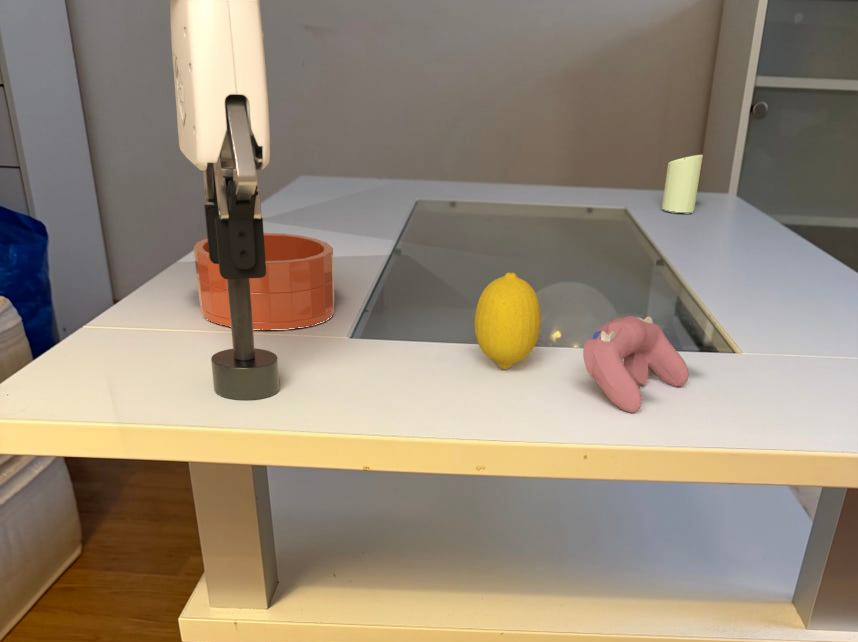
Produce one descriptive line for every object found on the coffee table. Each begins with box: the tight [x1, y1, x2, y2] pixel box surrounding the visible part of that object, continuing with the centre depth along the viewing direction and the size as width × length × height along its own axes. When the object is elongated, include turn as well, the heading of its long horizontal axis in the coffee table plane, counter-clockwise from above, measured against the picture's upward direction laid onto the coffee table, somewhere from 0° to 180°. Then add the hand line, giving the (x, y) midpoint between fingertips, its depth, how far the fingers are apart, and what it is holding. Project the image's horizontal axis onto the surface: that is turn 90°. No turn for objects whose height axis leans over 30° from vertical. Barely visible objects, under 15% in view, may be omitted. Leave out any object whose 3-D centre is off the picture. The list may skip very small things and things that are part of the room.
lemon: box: [474, 272, 542, 370], centre depth 82 cm, size 6×6×8 cm
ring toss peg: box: [210, 278, 280, 401], centre depth 73 cm, size 5×5×14 cm
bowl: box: [193, 232, 335, 330], centre depth 93 cm, size 13×13×6 cm
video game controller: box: [582, 315, 689, 413], centre depth 80 cm, size 10×5×7 cm, turn 144°
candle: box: [661, 154, 704, 213], centre depth 151 cm, size 5×5×8 cm
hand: (237, 267), depth 72 cm, fingers open, 3 cm apart
